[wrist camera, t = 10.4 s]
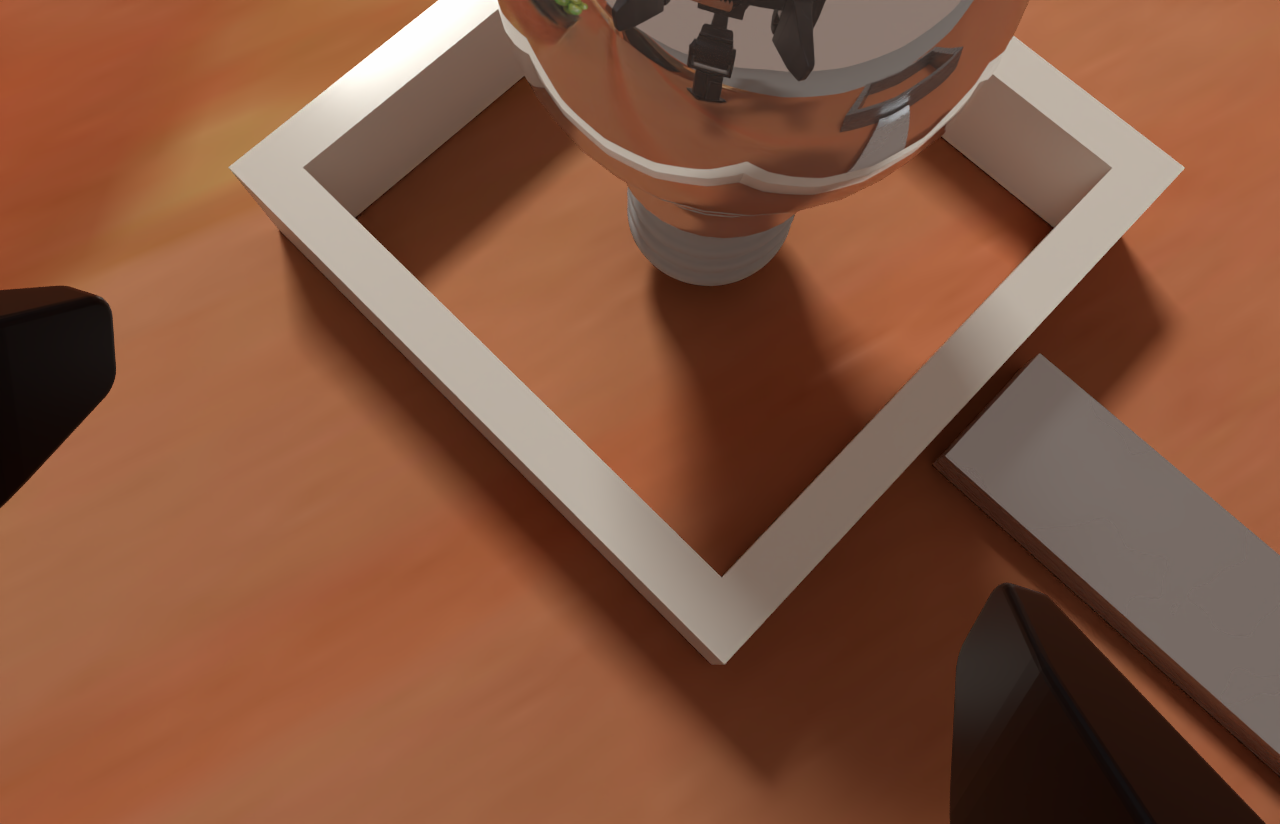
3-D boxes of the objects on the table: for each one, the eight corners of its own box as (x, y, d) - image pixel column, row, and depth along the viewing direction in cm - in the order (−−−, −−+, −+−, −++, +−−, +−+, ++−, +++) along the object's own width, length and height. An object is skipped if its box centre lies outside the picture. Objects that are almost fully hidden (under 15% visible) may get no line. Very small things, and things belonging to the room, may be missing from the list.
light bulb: (781, 63, 21) (968, -678, 10) (919, 322, 19) (1352, -204, 8) (499, 161, 20) (329, -520, 9) (615, 441, 18) (596, 52, 7)
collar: (711, 664, 17) (724, 664, 15) (277, 227, 20) (227, 167, 17) (1118, 227, 20) (1184, 168, 18) (691, -113, 22) (698, -207, 20)
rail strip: (1305, 799, 17) (1337, 805, 16) (931, 464, 18) (945, 456, 18) (1392, 679, 17) (1427, 680, 17) (1022, 365, 19) (1039, 352, 18)
